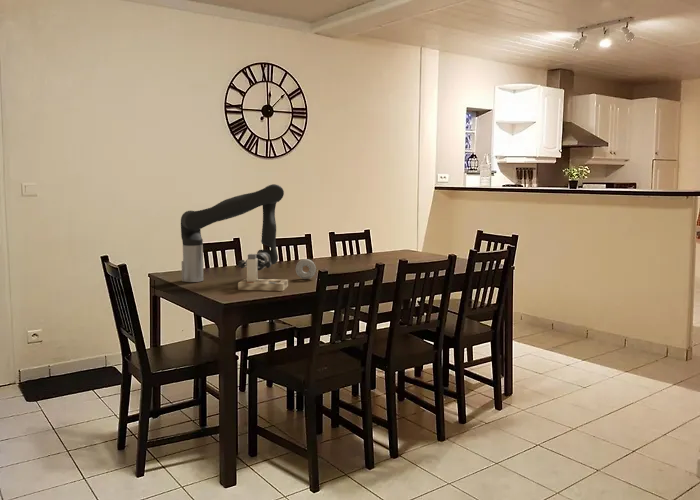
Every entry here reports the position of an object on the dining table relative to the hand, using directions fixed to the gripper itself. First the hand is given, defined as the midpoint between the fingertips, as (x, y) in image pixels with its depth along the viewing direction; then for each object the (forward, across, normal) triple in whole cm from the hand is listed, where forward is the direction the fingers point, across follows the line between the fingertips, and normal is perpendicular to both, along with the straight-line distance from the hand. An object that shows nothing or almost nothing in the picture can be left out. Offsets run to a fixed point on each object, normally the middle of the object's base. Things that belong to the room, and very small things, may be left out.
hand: (251, 266), depth 279 cm
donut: (-28, +20, +10) cm, 36 cm away
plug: (-2, 0, +10) cm, 10 cm away
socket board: (-2, +5, +10) cm, 11 cm away
